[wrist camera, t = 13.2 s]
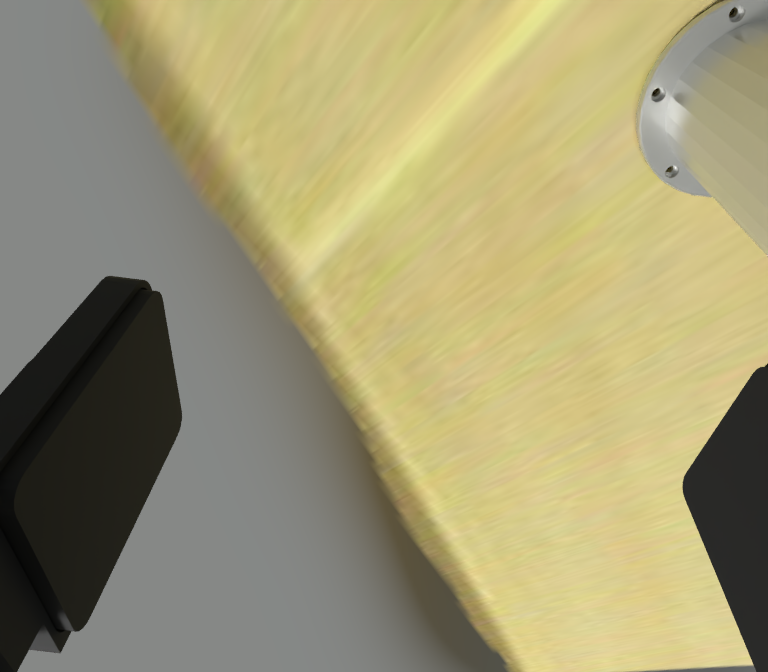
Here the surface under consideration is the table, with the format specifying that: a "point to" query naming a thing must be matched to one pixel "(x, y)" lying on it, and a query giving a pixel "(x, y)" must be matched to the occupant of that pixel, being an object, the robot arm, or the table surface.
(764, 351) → the table surface
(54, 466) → the robot arm
